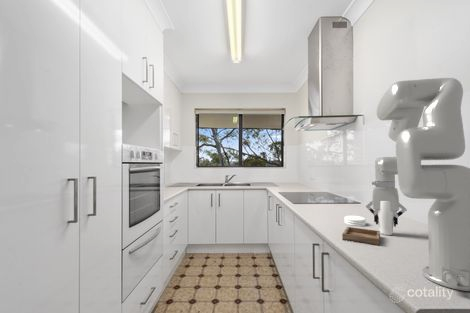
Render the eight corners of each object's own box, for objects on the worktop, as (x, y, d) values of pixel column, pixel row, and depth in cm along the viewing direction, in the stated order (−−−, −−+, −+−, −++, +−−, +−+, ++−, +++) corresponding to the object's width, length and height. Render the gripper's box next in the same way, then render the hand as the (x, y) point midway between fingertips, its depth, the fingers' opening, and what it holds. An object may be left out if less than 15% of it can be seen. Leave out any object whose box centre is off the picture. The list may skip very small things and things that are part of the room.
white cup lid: (360, 222, 131) (360, 215, 131) (369, 227, 121) (369, 219, 121) (341, 221, 132) (341, 215, 132) (348, 226, 122) (348, 219, 122)
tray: (378, 245, 93) (378, 239, 93) (342, 239, 100) (342, 233, 100) (380, 236, 104) (380, 231, 104) (347, 232, 111) (347, 226, 111)
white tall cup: (397, 236, 104) (397, 201, 105) (380, 235, 106) (380, 201, 106) (391, 232, 111) (390, 199, 111) (375, 231, 112) (374, 199, 113)
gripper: (362, 184, 111) (363, 224, 110) (409, 186, 101) (410, 229, 101) (364, 183, 117) (364, 220, 116) (408, 185, 107) (409, 225, 107)
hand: (385, 224), depth 109 cm, fingers closed on white tall cup, 6 cm apart
